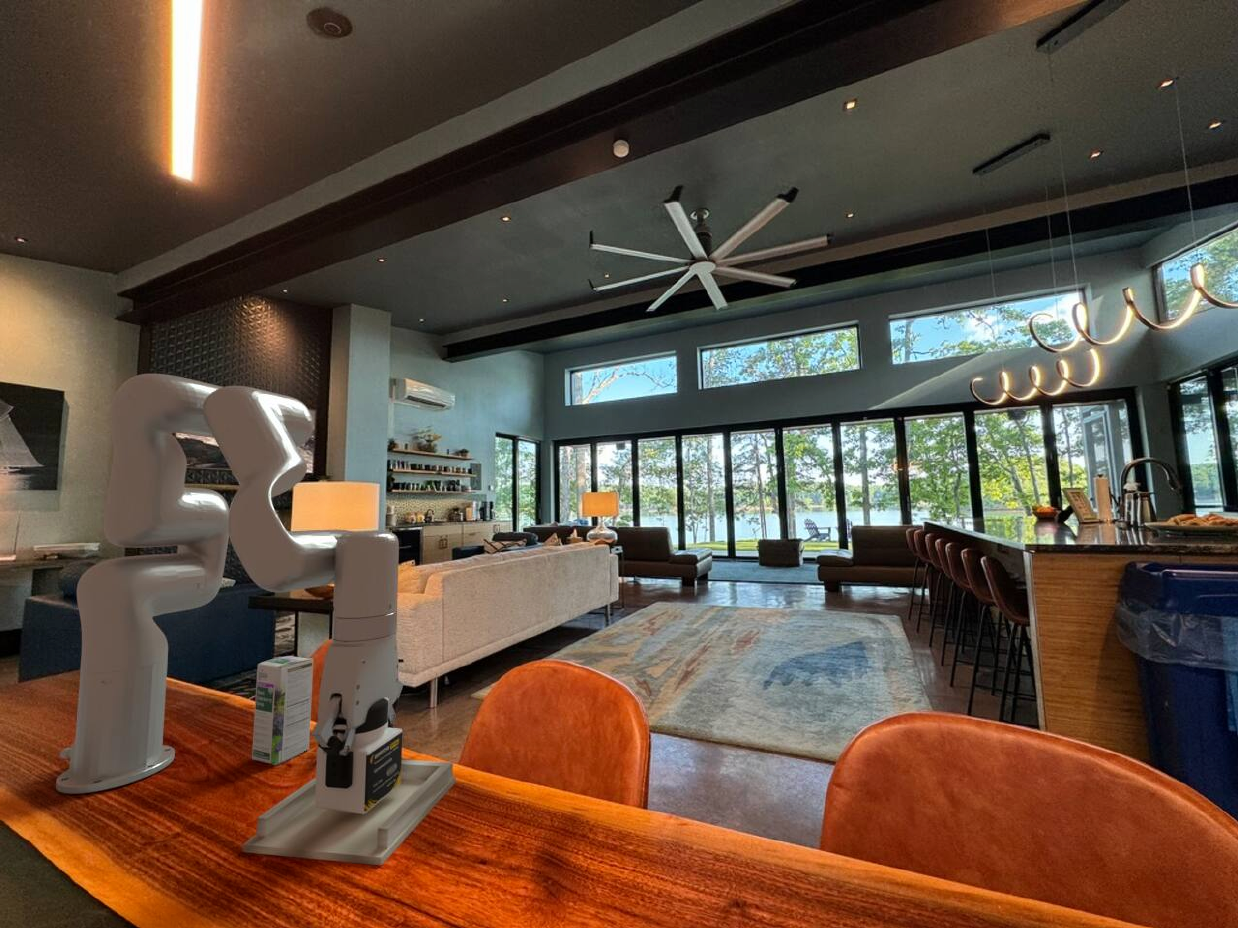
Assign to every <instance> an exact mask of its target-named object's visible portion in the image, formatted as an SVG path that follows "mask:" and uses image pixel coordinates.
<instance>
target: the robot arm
mask: <svg viewBox="0 0 1238 928" xmlns="http://www.w3.org/2000/svg"><path fill="white" fill-rule="evenodd" d="M109 411H110V412H109V421H110V422H109V423H110V432H111V437H112V443H113V444H112V445H113V459H112V460H113V461H112V466H111V470H110V471H111V472H110V478H109V484H108V490H107V495H106V496H107V497H106V504H105V510H104V517H103V534H104V536H105V538H106V540H107V541H108V542H109V543H110V544H112V545H114V546H117V547H121V548H154V547H155V548H159V547H160V548H161V547H175V546H176V547H177V551H176V552H175V553H166V554H165V553H161V554H160V553H159V554H158V553H157V554H142V555H134V556H133V555H132V556H131V555H130V556H122V557H115V558H112V559H111V558H110V559H106V560H103V561H101V562H98V563H96V564H95V565H92V566H91V567H89V568H88V569H87V570H86V571H85V572H83V573H82V575H81V577H80V578H79V580H78V583H77V585H76V586H77V587H76V600H77V608H78V611H79V613H78V614H79V616H80V617H79V618H80V624H81V660H80V674H79V675H80V677H79V689H78V690H79V691H78V702H77V703H78V704H77V712H76V713H77V714H76V715H77V716H76V729H75V740H74V741H73V743H72V744H71V746H70V747H64V748H63V749H62V750H61V751H60V754H59V757H60V758H61V759H69V768H68V769H66V770H65V771H64V772H62V773H61V774H60V775H59V776H58V777H57V778H56V782H55V783H56V784H55V789H56V790H57V791H58V792H60V793H62V794H67V795H68V794H69V795H74V794H75V795H76V794H91V793H95V792H100V791H101V792H102V791H106V790H110V789H113V788H118V787H121V786H122V787H123V786H125V785H128V784H131V783H135V782H137V781H140V780H143V779H144V778H147V777H149V776H151V775H154V774H156V773H158V772H160V771H161V770H164V769H165V768H166V767H168V766H169V765H170V764H171V763H172V762H173V761H174V759H175V757H176V756H175V754H176V750H175V748H173V747H172V746H169V745H167V744H166V745H164V743H163V741H164V740H163V739H164V724H165V723H164V722H165V712H166V711H165V708H166V696H167V695H166V691H167V678H168V677H167V675H168V661H169V658H168V656H169V655H168V654H169V643H168V639H167V637H166V635H165V633H164V632H163V631H162V630H161V628H160V627H159V626H158V625H157V624H156V622H155V620H154V619H153V617H156V616H160V615H164V614H171V613H176V612H182V611H186V610H193V609H197V608H201V607H203V606H205V605H207V604H209V603H211V601H213V600H214V599H215V598H216V597H217V594H218V593H219V590H221V589H220V588H221V586H222V582H223V578H224V577H223V576H224V573H225V565H226V559H227V552H228V545H229V540H230V543H231V545H232V548H233V550H234V552H235V554H236V556H237V557H238V559H239V561H240V563H241V566H242V567H243V569H244V570H245V572H246V574H247V575H248V576H249V578H250V579H251V580H252V581H253V583H255V584H256V585H257V586H258V587H259V588H261V589H263V590H265V591H268V592H271V593H272V592H273V593H287V592H293V591H295V592H296V591H299V590H306V589H310V588H315V587H323V586H331V585H333V604H332V605H333V607H332V608H333V609H332V630H331V633H332V634H331V643H330V644H329V645H328V648H327V651H326V654H325V658H324V664H323V667H322V668H323V669H322V673H321V682H320V688H319V696H318V697H319V699H318V711H317V722H316V724H315V725H314V727H313V729H312V730H311V736H312V738H313V739H314V741H316V743H317V746H318V748H319V747H320V748H321V749H322V750H323V754H326V776H325V785H326V787H331V788H343V789H348V788H349V787H350V786H351V785H352V778H353V752H351V751H349V750H350V747H351V744H352V741H353V738H354V735H355V731H356V728H357V727H359V726H360V725H362V724H363V723H365V721H366V716H367V713H368V710H369V708H370V707H371V706H372V705H373V704H374V703H376V702H377V701H379V700H380V699H382V698H388V700H389V702H388V727H387V728H394V725H393V723H394V722H396V721H395V720H396V717H397V716H396V713H395V711H396V710H397V708H398V705H399V702H400V701H399V698H400V695H401V693H402V690H403V686H404V684H403V682H402V681H401V680H399V654H398V643H397V642H398V641H397V627H398V594H399V593H398V590H399V589H398V588H399V584H398V583H399V561H400V559H399V557H400V556H399V555H400V554H399V553H400V552H399V551H400V546H399V545H400V544H399V539H398V536H397V535H396V534H394V533H393V532H390V531H382V530H381V531H369V530H368V531H352V530H349V529H348V530H347V529H310V530H291V531H288V530H287V528H285V526H284V525H283V523H282V521H281V519H280V517H279V516H278V513H277V512H276V509H275V508H274V504H273V500H272V498H274V497H277V496H279V495H282V494H283V493H285V492H287V491H289V490H290V489H292V488H294V487H295V486H296V485H298V484H299V483H300V482H301V481H302V480H303V479H304V478H305V475H306V474H307V470H308V464H307V461H306V460H305V457H304V456H303V454H302V453H301V451H300V450H299V448H300V447H302V446H304V445H305V444H306V443H307V442H308V441H309V439H310V438H311V436H312V433H313V431H314V430H313V429H314V421H313V416H312V414H311V412H310V410H309V409H308V407H307V406H306V405H305V404H304V403H303V402H302V401H300V400H299V399H297V398H294V397H292V396H289V395H285V394H280V393H277V392H271V391H268V390H265V389H259V388H255V387H250V386H245V385H228V386H221V385H216V384H212V383H208V382H205V381H204V382H203V381H199V380H196V379H191V378H186V377H182V376H177V375H171V374H163V373H143V374H139V375H134V376H133V377H130V378H129V379H127V380H125V381H124V382H123V383H122V384H121V385H120V386H119V388H118V389H117V390H116V392H115V394H114V396H113V398H112V401H111V405H110V409H109ZM174 434H181V435H182V434H183V435H191V436H197V437H204V438H212V439H214V440H215V443H216V444H217V446H218V448H219V450H220V451H221V453H222V454H223V457H224V459H225V461H226V462H227V464H228V466H229V468H230V470H231V472H232V475H234V478H235V479H236V481H237V482H238V485H239V488H238V489H237V491H236V493H235V494H234V497H233V498H232V501H231V504H230V505H228V501H227V500H226V499H225V498H224V496H223V495H222V494H221V493H219V492H218V491H216V490H213V489H209V488H203V487H202V488H201V487H185V480H186V472H187V467H188V465H187V463H188V462H187V457H186V455H185V452H184V450H183V448H182V445H181V444H180V443H179V441H178V440H177V438H176V437H175V436H174ZM340 719H347V724H340ZM339 731H346V732H345V735H344V738H343V741H341V740H340V739H339V738H338V737H337V735H338V732H339Z"/></svg>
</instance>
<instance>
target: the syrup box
mask: <svg viewBox="0 0 1238 928" xmlns="http://www.w3.org/2000/svg"><path fill="white" fill-rule="evenodd" d="M313 669H314V658H306V657H299V656H293V655H286V656H279V657H276V658H272V659H269V660H266V661H262V662H260V663H258V664H257V671H256V684H255V685H256V687H255V689H256V690H255V702H254V704H255V705H254V716H253V717H254V718H253V719H254V720H253V721H254V722H253V735H252V736H253V738H252V751H251V753H252V755H251V759H252V761H259V762H263V763H267V764H270V765H273V766H277V765H280V764H282V763H284V762H287V761H289V760H290V759H292V758H295V757H296V756H299V755H301V754H302V753H304V751H305V752H307V751H309V750H310V737H311V736H310V735H311V734H310V733H311V714H312V695H313V694H312V693H313V674H314V673H313V672H314V671H313ZM308 749H309V750H308ZM306 750H307V751H306Z"/></svg>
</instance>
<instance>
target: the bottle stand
mask: <svg viewBox="0 0 1238 928" xmlns="http://www.w3.org/2000/svg"><path fill="white" fill-rule="evenodd" d="M441 762H443V763H441ZM453 765H454V763H453V762H448V761H436V760H435V761H433V760H418V759H416V760H415V759H402V764H401V784H400V785H399V786H398V787H396V788H395V789H394V790H393V791H392V792H390V793H389V794H388V795H387V796H386V797H385V798H383V799H382V800H381V801H380V802H379V803H377V804H376V805H375V806H374V807H373V808H372V809H370V810H369V811H368V812H367V813H366V814H359V813H351V812H343V811H335V810H327V809H319V808H316V807H315V791H316V776H315V777H314V778H313V779H311V780H310V781H308V782H307V783H306V784H304V785H302V786H301V787H299V788H298V789H297V790H296V791H294V792H292V793H290V794H289V795H288V796H287V797H285V798H284V799H282V800H281V801H279V802H278V803H277V804H275V805H273V807H271V808H269V809H268V810H267V811H265V812H264V813H262V814H261V815H259V816H258V817H256V818H257V822H256V834H255V835H254V836H252V837H251V838H250V839H248V840H247V841H246V842H244V843H243V844H242V853H248V854H249V853H250V854H261V855H269V856H279V857H280V856H282V857H291V858H300V859H312V860H323V861H333V862H342V863H352V864H362V865H363V864H364V865H374V866H382V865H383V864H384V863H385V862H386V861H387V860H388V859H389V858H390V856H392V854H394V852H395V851H396V850H397V849H398V847H400V845H401V844H402V843H403V842H404V841H405V840H406V839H407V838H408V837H409V835H410V834H411V833H412V832H413V831H414V830H415V829H416V828H417V826H419V824H420V823H421V822H422V821H423V820H424V819H425V817H426V816H428V814H429V813H430V812H431V811H432V810H433V809H434V807H436V805H437V804H438V803H439V802H440V800H441V799H443V798H444V796H445V795H446V794H447V793H448V792H449V791H450V789H452V787H453V786H454V785H455V784H456V780H457V779H456V776H453V774H454V773H453V768H454V767H453Z"/></svg>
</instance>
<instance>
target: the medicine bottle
mask: <svg viewBox="0 0 1238 928" xmlns="http://www.w3.org/2000/svg"><path fill="white" fill-rule="evenodd" d="M388 702H389V700H388V698H382V699H380V700H379V701H377V702H376V703H374V704H373V705H372V706H371V707H370V708H369V710H368V713H367V716H366V721H365V723H363V724H362V725H360V726H359V727H357V728H356V731H355V735H354V738H353V741H352V744H351V747H350V750H349V751H351V752H353V778H352V785H351V786H350V787H349V788H348V789H343V788H331V787H326V785H325V776H326V754H323V750H322V749H321V748H320V747H319V746H318V748H317V751H316V752H317V753H316V768H315V769H316V770H315V771H316V773H315V777H316V791H315V807H316V808H319V809H327V810H335V811H343V812H351V813H359V814H366V813H367V812H368V811H369V810H370V809H372V808H373V807H374V806H375V805H376V804H377V803H379V802H380V801H381V800H382V799H383V798H385V797H386V796H387V795H388V794H389V793H390V792H392V791H393V790H394V789H395V788H396V787H398V786H399V785H400V784H401V764H402V757H403V755H402V753H403V729H402V728H398V727H393V728H387V727H388ZM340 724H347V719H340ZM345 732H346V731H339V732H338V735H337V737H338V738H339V739H340V740H341V741H343V738H344V735H345Z"/></svg>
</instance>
